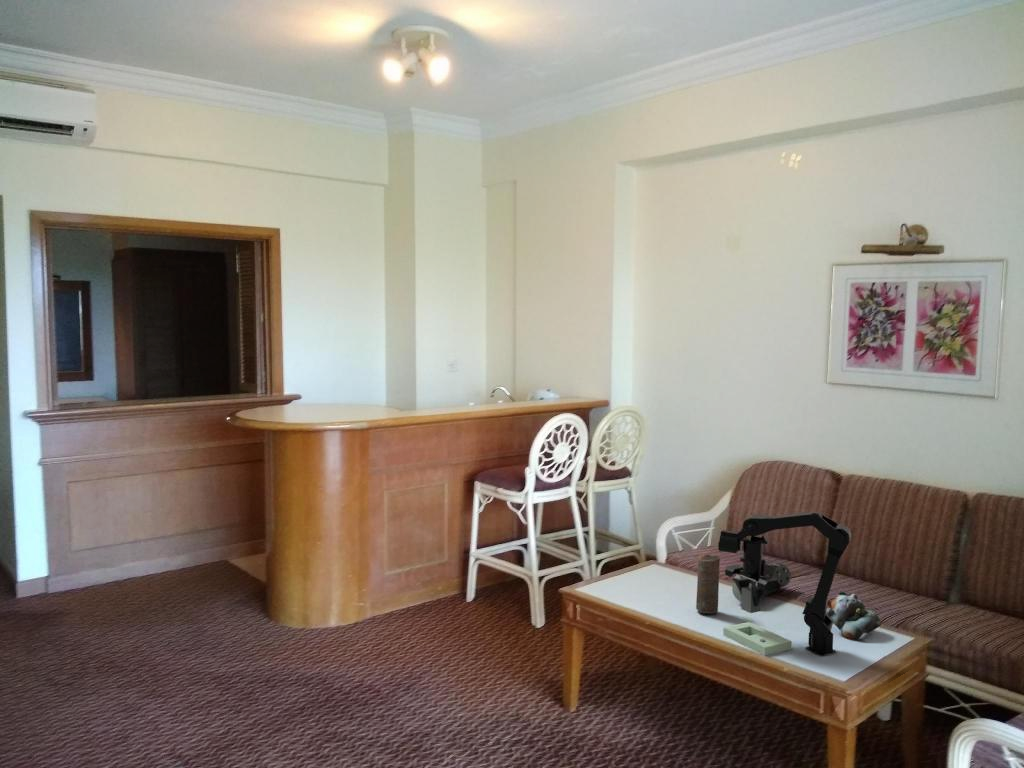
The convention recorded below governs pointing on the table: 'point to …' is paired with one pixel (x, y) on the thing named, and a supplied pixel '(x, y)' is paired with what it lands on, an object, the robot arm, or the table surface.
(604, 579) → the table surface
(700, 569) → the brown cylinder
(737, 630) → the socket box
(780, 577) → the muzzle brake
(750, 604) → the block
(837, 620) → the lucky cat figurine
